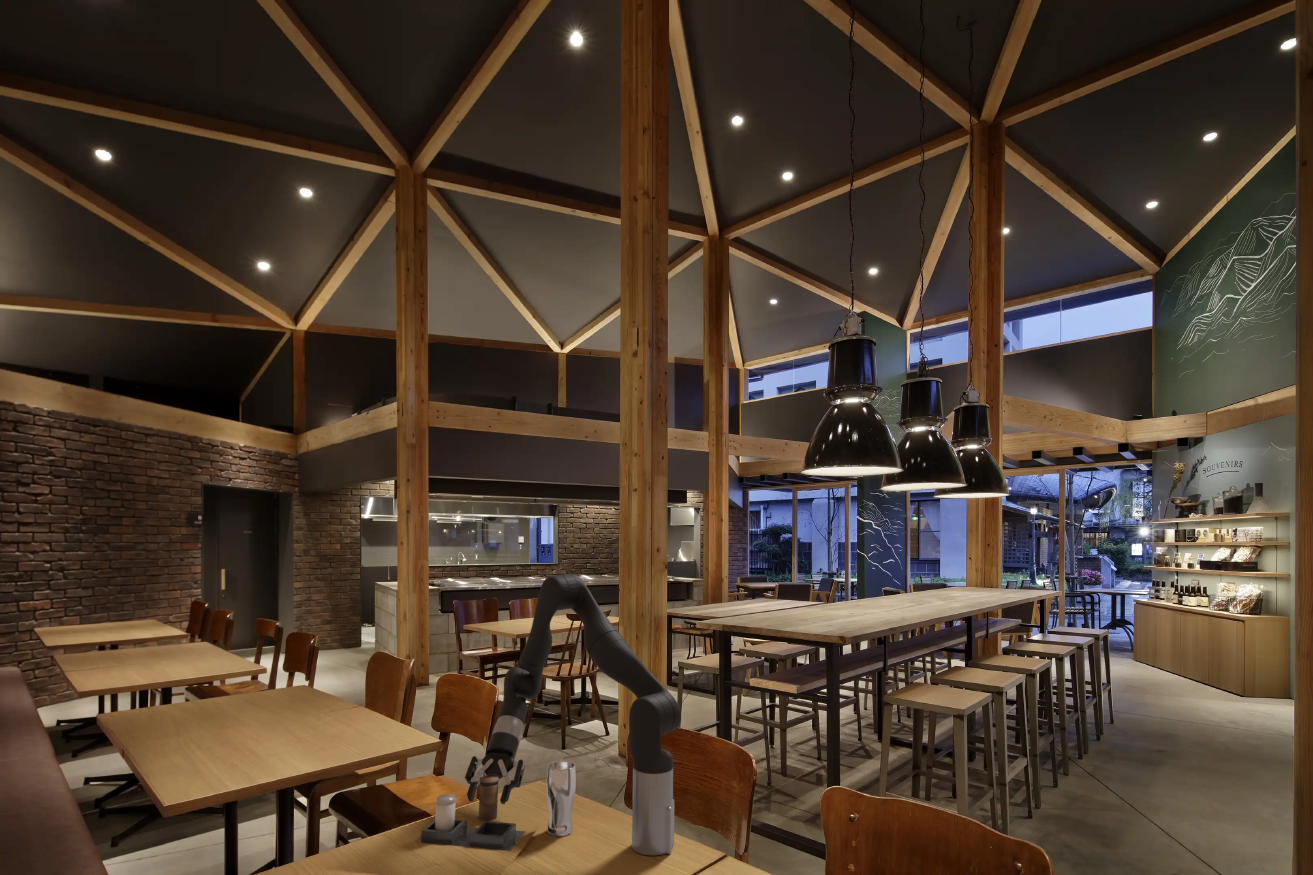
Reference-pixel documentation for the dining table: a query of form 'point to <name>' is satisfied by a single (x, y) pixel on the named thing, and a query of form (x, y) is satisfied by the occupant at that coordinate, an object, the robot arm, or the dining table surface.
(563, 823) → the beer glass
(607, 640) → the robot arm
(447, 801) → the salt shaker
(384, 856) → the dining table surface
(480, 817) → the brown wooden cylinder
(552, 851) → the dining table surface
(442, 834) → the condiment caddy
